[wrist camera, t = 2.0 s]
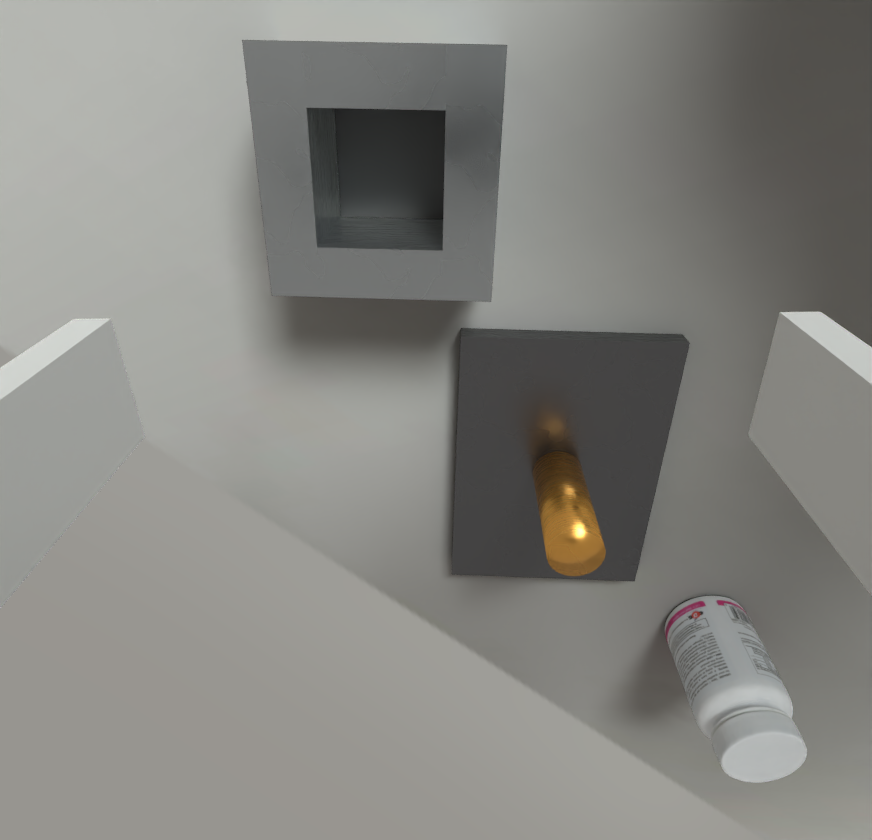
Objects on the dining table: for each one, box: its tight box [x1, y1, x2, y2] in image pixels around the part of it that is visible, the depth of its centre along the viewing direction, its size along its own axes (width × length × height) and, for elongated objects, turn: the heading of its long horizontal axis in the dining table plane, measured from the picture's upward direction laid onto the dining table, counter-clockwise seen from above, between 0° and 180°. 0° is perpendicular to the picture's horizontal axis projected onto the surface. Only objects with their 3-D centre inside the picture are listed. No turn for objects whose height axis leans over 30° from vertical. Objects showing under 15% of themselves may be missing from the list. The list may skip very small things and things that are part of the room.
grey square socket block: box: [242, 40, 507, 302], centre depth 23 cm, size 8×8×5 cm
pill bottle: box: [665, 596, 807, 783], centre depth 34 cm, size 5×5×8 cm
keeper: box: [452, 328, 690, 581], centre depth 29 cm, size 14×10×7 cm
